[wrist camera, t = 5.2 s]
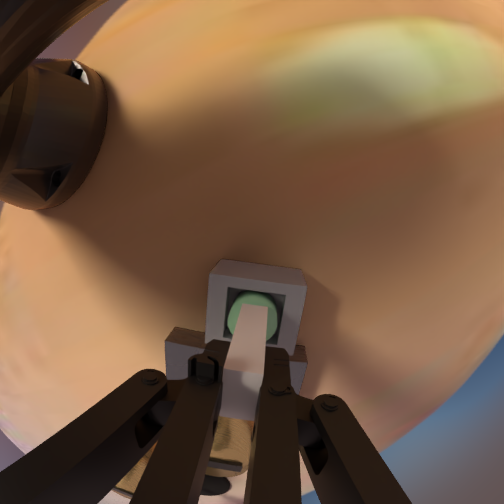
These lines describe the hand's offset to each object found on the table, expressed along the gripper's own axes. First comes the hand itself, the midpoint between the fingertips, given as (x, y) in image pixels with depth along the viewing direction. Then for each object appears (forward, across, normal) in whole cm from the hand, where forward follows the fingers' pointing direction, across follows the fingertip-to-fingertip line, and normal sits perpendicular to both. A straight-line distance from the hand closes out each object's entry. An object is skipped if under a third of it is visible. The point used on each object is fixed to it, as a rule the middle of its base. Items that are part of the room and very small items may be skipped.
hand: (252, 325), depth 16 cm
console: (+5, 0, 0) cm, 5 cm away
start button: (+2, 0, 0) cm, 2 cm away
